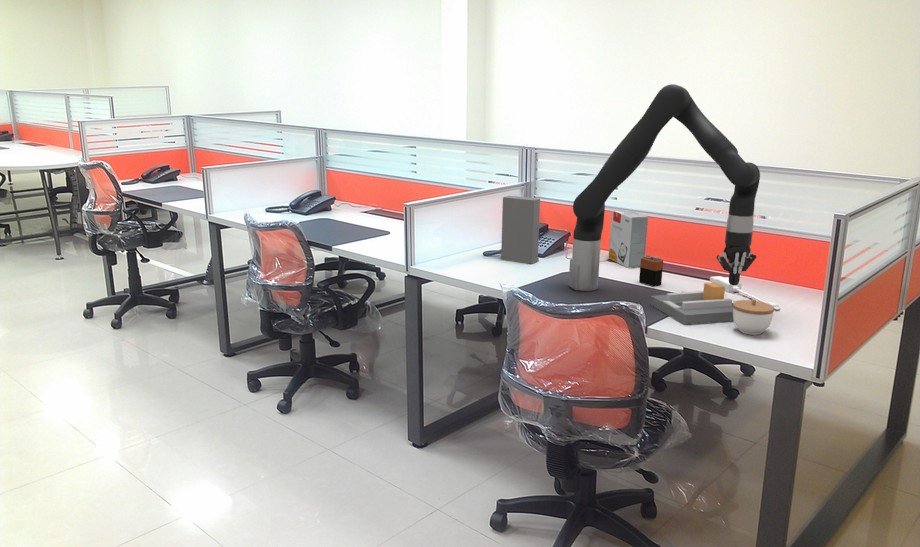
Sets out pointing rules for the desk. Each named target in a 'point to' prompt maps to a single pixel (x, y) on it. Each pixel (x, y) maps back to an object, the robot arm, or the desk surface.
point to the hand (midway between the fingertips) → (733, 284)
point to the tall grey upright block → (520, 229)
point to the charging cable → (737, 289)
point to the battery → (651, 270)
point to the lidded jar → (752, 316)
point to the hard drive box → (627, 237)
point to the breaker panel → (693, 308)
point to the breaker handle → (713, 291)
